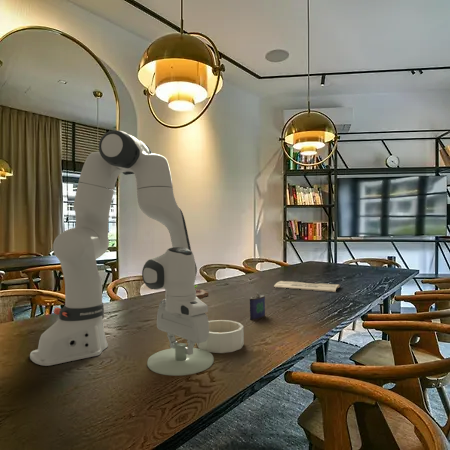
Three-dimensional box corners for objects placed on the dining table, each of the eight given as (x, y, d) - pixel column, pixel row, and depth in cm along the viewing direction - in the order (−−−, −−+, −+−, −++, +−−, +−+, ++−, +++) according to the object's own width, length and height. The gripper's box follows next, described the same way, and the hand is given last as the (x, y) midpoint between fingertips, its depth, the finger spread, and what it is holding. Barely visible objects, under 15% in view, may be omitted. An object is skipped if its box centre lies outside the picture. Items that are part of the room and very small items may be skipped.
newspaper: (339, 288, 219) (339, 283, 219) (335, 293, 201) (335, 289, 201) (282, 284, 235) (282, 280, 235) (273, 289, 217) (273, 284, 217)
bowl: (219, 356, 106) (219, 336, 106) (188, 344, 117) (188, 326, 117) (252, 344, 117) (252, 326, 117) (220, 334, 128) (220, 317, 128)
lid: (174, 383, 89) (174, 363, 89) (134, 363, 103) (134, 345, 103) (226, 362, 103) (226, 344, 103) (185, 346, 116) (185, 330, 116)
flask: (261, 315, 154) (261, 290, 154) (267, 316, 152) (267, 291, 152) (248, 319, 147) (248, 294, 147) (254, 320, 145) (253, 294, 145)
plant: (186, 302, 182) (186, 280, 182) (163, 296, 196) (163, 276, 196) (214, 296, 197) (213, 275, 197) (190, 291, 210) (190, 272, 210)
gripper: (151, 300, 108) (151, 345, 108) (195, 311, 94) (195, 363, 94) (168, 296, 113) (168, 340, 113) (212, 307, 98) (212, 356, 98)
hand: (181, 350), depth 103 cm, fingers open, 6 cm apart
